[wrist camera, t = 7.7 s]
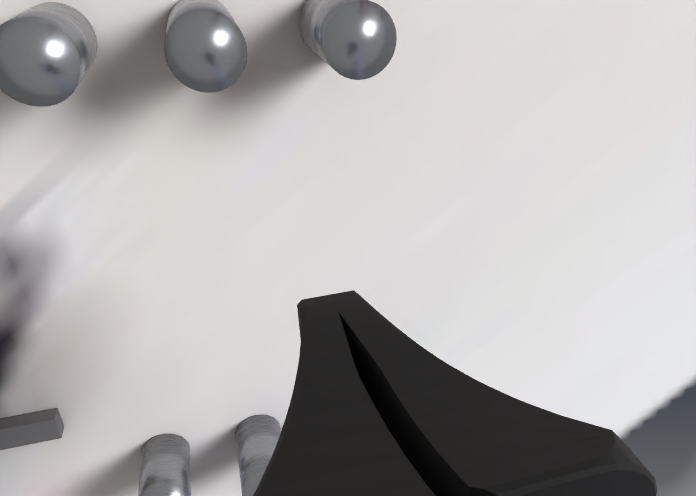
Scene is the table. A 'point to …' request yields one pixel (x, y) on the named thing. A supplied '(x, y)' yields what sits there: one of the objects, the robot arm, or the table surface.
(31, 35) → the metal pins
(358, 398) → the robot arm
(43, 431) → the frame
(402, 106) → the table surface
